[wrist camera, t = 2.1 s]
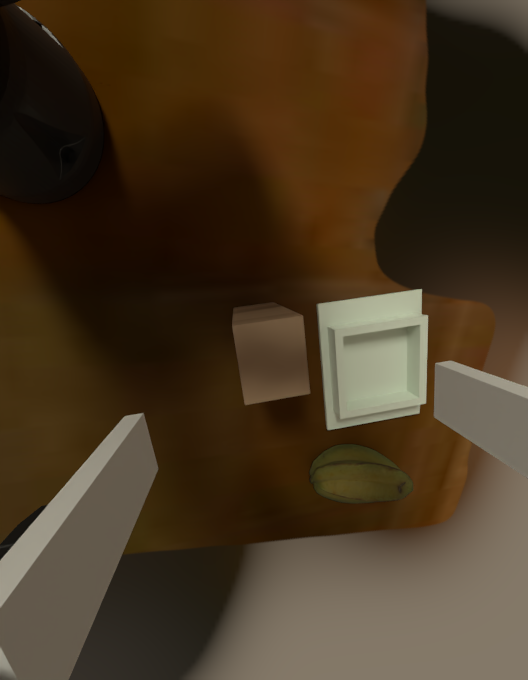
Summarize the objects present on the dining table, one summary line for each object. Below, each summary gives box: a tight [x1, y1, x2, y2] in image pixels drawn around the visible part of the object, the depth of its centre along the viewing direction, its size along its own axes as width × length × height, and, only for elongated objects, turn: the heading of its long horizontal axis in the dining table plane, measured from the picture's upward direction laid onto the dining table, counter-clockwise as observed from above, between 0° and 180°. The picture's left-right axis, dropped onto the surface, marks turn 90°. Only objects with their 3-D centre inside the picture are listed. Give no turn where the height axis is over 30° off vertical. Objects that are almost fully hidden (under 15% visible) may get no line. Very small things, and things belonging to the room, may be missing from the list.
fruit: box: [309, 444, 413, 503], centre depth 34 cm, size 11×12×7 cm
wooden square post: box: [232, 302, 310, 405], centre depth 25 cm, size 6×5×14 cm
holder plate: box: [316, 289, 428, 430], centre depth 33 cm, size 18×14×3 cm
